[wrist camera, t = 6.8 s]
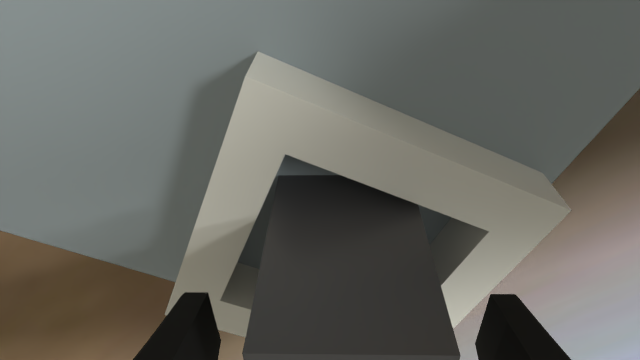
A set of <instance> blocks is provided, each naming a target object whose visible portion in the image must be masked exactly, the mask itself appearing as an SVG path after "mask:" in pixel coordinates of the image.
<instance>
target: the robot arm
mask: <svg viewBox="0 0 640 360" xmlns="http://www.w3.org/2000/svg"><path fill="white" fill-rule="evenodd" d="M220 343H221V339H220V336H219V332H218V328H217V324H216V321H215V317H214V313H213V309H212V306H211V302H210V298H209V294H208V292H185V293H184V294H182V295H181V297H180V298H179V299H178V301H177V302H176V304H175V305H174V306H173V308H172V309H171V311H170V312H169V313H168V315H167V316H166V317H165V319H164V320H163V321H162V323H161V324H160V325H159V327H158V328H157V329H156V331H155V332H154V333H153V335H152V336H151V337H150V339H149V340H148V341H147V343H146V344H145V345H144V346H143V348H142V349H141V350H140V351H139V353H138V354H137V355H136V356H135V358H134V359H133V360H218V355H219V349H220ZM475 345H476V350H477V354H478V359H479V360H571V359H570V358H569V357H568V355H567V354H566V353H565V352H564V351H563V350H562V349H561V347H560V346H559V345H558V344H557V343H556V342H555V340H554V339H553V338H552V337H551V336H550V335H549V333H548V332H547V331H546V330H545V329H544V328H543V326H542V325H541V324H540V323H539V322H538V320H537V319H536V318H535V317H534V316H533V314H532V313H531V312H530V311H529V310H528V308H527V307H526V306H525V305H524V304H523V303H522V301H521V300H520V299H519V298H518V297H517V296H516V295H515V294H490V298H489V301H488V304H487V307H486V311H485V314H484V317H483V320H482V323H481V327H480V330H479V333H478V336H477V339H476V343H475Z"/></svg>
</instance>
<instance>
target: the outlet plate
mask: <svg viewBox="0 0 640 360" xmlns="http://www.w3.org/2000/svg"><path fill="white" fill-rule="evenodd" d="M639 89H640V0H0V231H4V232H7V233H11V234H14V235H17V236H21V237H24V238H28V239H31V240H34V241H38V242H41V243H44V244H48V245H51V246H55V247H58V248H61V249H65V250H68V251H72V252H75V253H78V254H82V255H85V256H89V257H92V258H95V259H99V260H102V261H106V262H109V263H112V264H116V265H119V266H123V267H126V268H129V269H133V270H136V271H139V272H143V273H146V274H150V275H153V276H156V277H160V278H163V279H167V280H170V281H173V282H175V285H174V288H173V291H172V294H171V297H170V300H169V303H168V306H167V309H166V312H165V315H166V316H167V315H168V313H169V312H170V311H171V309H172V308H173V306H174V305H175V304H176V302H177V301H178V299H179V298H180V297H181V295H182V294H184V293H185V292H208V294H209V298H210V302H211V306H212V309H213V313H214V317H215V321H216V324H217V328H218V330H220V331H224V332H228V333H231V334H235V335H238V336H242V337H246V333H247V328H248V323H249V318H250V314H251V309H252V304H253V299H254V294H255V289H256V284H257V279H258V274H259V269H260V264H261V259H262V254H263V249H264V244H265V239H266V234H267V229H268V225H269V220H270V215H271V210H272V205H273V200H274V195H275V190H276V185H277V180H278V175H341V176H344V177H347V178H349V179H352V180H355V181H357V182H360V183H363V184H365V185H368V186H370V187H373V188H376V189H378V190H381V191H384V192H386V193H389V194H392V195H394V196H397V197H400V198H402V199H405V200H407V201H410V202H413V203H415V204H418V206H419V210H420V213H421V217H422V221H423V224H424V228H425V231H426V235H427V238H428V242H429V245H430V249H431V253H432V256H433V260H434V263H435V267H436V270H437V274H438V278H439V281H440V285H441V288H442V292H443V295H444V299H445V302H446V306H447V310H448V313H449V317H450V320H451V324H452V327H453V328H454V327H455V326H456V325H457V324H458V323H459V322H460V321H461V320H462V319H463V318H464V317H465V316H466V315H467V314H468V313H469V312H470V311H471V310H472V309H473V308H474V307H475V306H476V305H477V304H478V303H479V302H480V301H481V300H482V299H483V298H484V297H485V296H486V295H487V294H488V293H489V292H490V291H491V290H492V289H493V288H494V287H495V286H496V285H497V284H498V283H499V282H500V281H501V280H502V279H503V278H504V277H505V276H506V275H507V274H508V273H509V272H510V271H511V270H512V269H513V268H514V267H515V266H516V265H517V264H518V263H519V262H520V261H521V260H522V259H523V258H524V257H525V256H526V255H527V254H528V253H529V252H531V251H532V250H533V249H534V248H535V247H536V246H537V245H538V244H539V243H540V242H541V241H542V240H543V239H544V238H545V237H546V236H547V235H548V234H549V233H550V232H551V231H552V230H553V229H554V228H555V227H556V226H557V225H558V224H559V223H560V222H561V221H562V220H563V219H564V218H565V217H566V216H567V215H568V214H569V213H570V212H571V211H572V210H571V209H570V207H569V206H568V205H567V204H566V202H565V201H564V200H563V198H562V197H561V196H560V194H559V193H558V192H557V191H556V189H555V188H554V187H553V185H552V183H553V182H554V181H555V179H556V178H557V177H558V176H559V175H560V174H561V173H562V172H563V171H564V170H565V169H566V168H567V166H568V165H569V164H570V163H571V162H572V161H573V160H574V159H575V158H576V157H577V156H578V155H579V153H580V152H581V151H582V150H583V149H584V148H585V147H586V146H587V145H588V144H589V143H590V142H591V140H592V139H593V138H594V137H595V136H596V135H597V134H598V133H599V132H600V131H601V130H602V129H603V127H604V126H605V125H606V124H607V123H608V122H609V121H610V120H611V119H612V118H613V117H614V116H615V114H616V113H617V112H618V111H619V110H620V109H621V108H622V107H623V106H624V105H625V104H626V103H627V102H628V100H629V99H630V98H631V97H632V96H633V95H634V94H635V93H636V92H637V91H638V90H639Z"/></svg>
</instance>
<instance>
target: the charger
mask: <svg viewBox="0 0 640 360" xmlns="http://www.w3.org/2000/svg"><path fill="white" fill-rule="evenodd" d="M242 354H243V358H244V360H459V359H460V352H459V349H458V345H457V342H456V338H455V335H454V331H453V327H452V324H451V320H450V317H449V313H448V310H447V306H446V302H445V299H444V295H443V292H442V288H441V285H440V281H439V278H438V274H437V270H436V267H435V263H434V260H433V256H432V253H431V249H430V245H429V242H428V238H427V235H426V231H425V228H424V224H423V221H422V217H421V213H420V210H419V206H418V204H415V203H413V202H410V201H407V200H405V199H402V198H400V197H397V196H394V195H392V194H389V193H386V192H384V191H381V190H378V189H376V188H373V187H370V186H368V185H365V184H363V183H360V182H357V181H355V180H352V179H349V178H347V177H344V176H341V175H278V180H277V185H276V190H275V195H274V200H273V205H272V210H271V215H270V220H269V225H268V229H267V234H266V239H265V244H264V249H263V254H262V259H261V264H260V269H259V274H258V279H257V284H256V289H255V294H254V299H253V304H252V309H251V314H250V318H249V323H248V328H247V333H246V338H245V343H244V348H243V353H242Z"/></svg>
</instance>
